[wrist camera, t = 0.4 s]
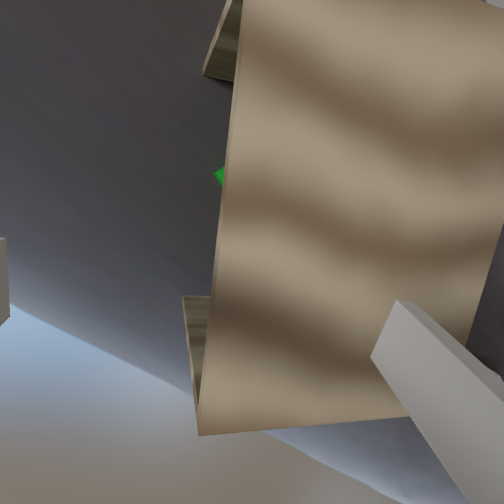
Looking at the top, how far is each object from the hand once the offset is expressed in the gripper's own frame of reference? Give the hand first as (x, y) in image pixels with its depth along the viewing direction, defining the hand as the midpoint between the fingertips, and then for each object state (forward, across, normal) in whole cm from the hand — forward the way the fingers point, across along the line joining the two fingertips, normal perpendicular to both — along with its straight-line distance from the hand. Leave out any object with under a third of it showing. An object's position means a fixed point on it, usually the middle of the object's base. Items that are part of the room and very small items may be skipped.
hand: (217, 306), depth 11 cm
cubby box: (+25, +7, -1) cm, 26 cm away
